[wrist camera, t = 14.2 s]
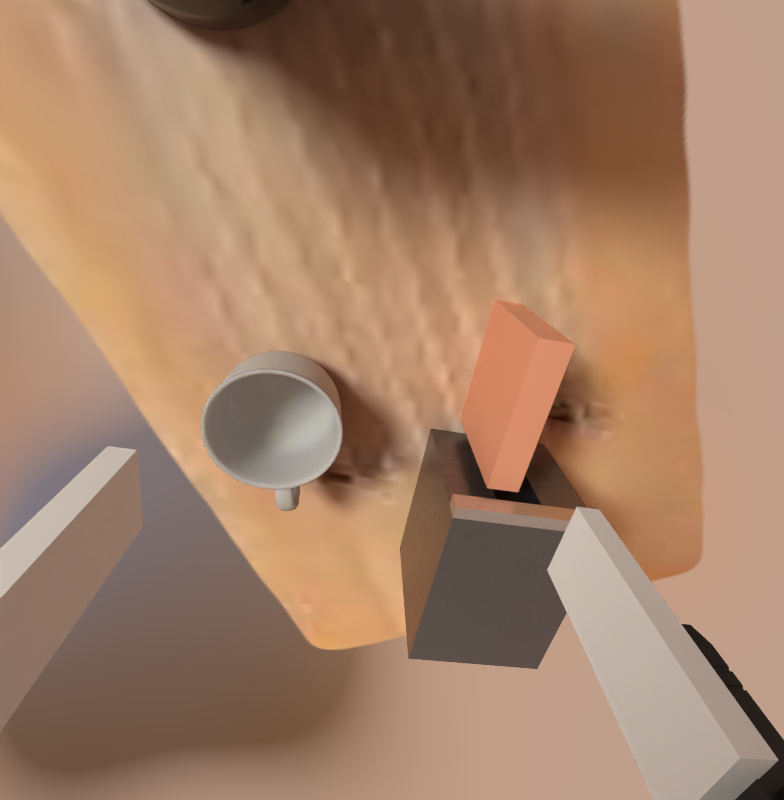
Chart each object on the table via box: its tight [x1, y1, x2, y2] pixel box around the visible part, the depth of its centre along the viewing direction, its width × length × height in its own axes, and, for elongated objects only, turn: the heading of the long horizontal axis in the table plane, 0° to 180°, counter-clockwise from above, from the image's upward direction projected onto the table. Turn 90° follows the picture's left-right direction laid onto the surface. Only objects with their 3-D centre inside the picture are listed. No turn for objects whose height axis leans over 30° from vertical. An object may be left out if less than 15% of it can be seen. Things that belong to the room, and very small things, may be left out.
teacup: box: [200, 351, 343, 511], centre depth 37 cm, size 14×11×8 cm
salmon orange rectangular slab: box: [460, 300, 576, 492], centre depth 35 cm, size 12×2×11 cm, turn 169°
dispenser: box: [400, 429, 612, 669], centre depth 41 cm, size 17×12×13 cm
